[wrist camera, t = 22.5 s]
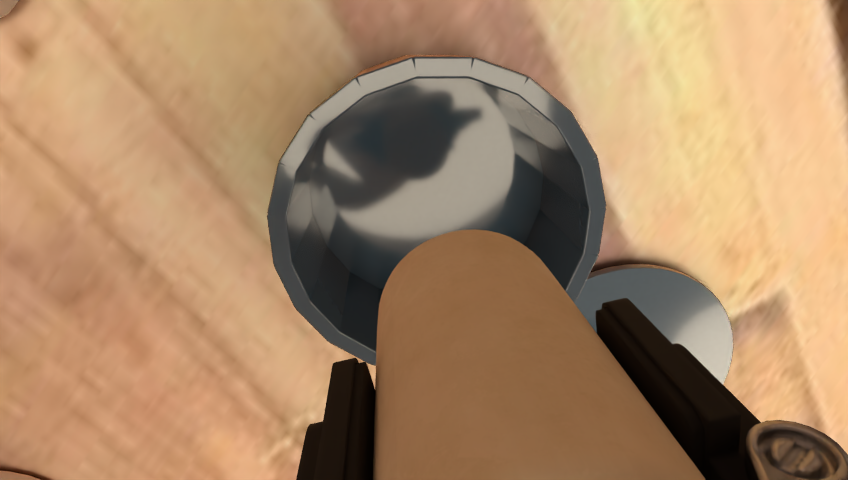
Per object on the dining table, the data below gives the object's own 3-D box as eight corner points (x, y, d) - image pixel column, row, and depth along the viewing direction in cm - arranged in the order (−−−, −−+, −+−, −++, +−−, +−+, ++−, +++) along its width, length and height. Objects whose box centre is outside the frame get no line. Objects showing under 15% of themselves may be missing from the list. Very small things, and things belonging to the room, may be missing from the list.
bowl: (273, 270, 28) (240, 336, 22) (333, 13, 23) (313, -1, 17) (498, 326, 31) (528, 399, 24) (594, 105, 26) (664, 124, 19)
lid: (467, 426, 34) (484, 500, 28) (555, 231, 29) (596, 275, 23) (654, 464, 37) (702, 538, 31) (765, 293, 31) (846, 345, 26)
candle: (485, 406, 16) (620, 884, 7) (344, 336, 15) (275, 825, 5) (589, 282, 15) (941, 682, 5) (443, 191, 13) (580, 525, 4)
